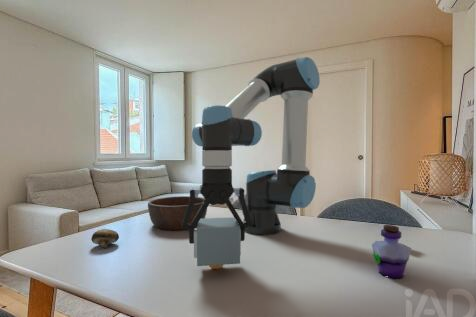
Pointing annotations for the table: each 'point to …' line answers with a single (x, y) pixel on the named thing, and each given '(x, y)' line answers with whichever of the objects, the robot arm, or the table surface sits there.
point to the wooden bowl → (173, 211)
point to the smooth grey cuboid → (218, 241)
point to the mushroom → (104, 237)
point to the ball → (215, 266)
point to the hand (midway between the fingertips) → (217, 254)
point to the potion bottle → (391, 253)
